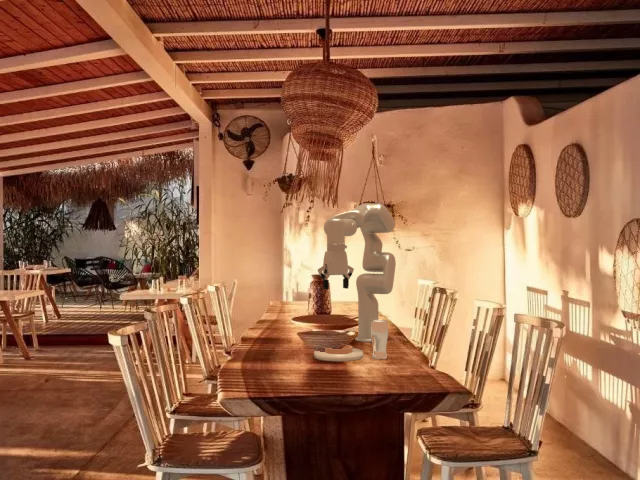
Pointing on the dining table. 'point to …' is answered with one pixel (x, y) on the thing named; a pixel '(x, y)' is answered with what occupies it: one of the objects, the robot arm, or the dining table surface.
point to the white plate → (339, 354)
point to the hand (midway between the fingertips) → (335, 288)
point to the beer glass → (379, 338)
